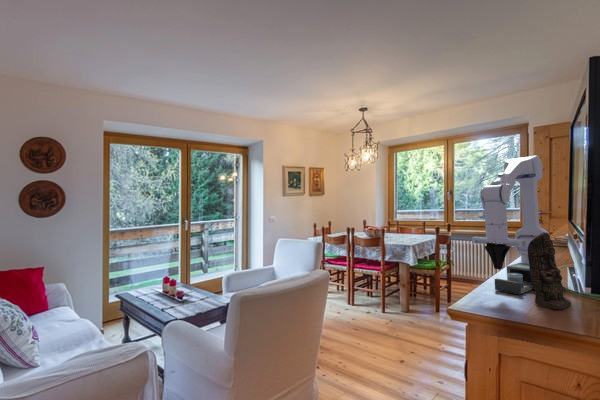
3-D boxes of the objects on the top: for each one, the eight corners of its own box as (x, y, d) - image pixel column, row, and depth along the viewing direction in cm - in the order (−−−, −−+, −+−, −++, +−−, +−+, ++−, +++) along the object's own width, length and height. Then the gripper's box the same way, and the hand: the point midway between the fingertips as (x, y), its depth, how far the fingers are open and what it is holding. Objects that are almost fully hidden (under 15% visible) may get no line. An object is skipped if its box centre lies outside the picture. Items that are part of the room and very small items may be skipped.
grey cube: (511, 284, 104) (511, 272, 104) (525, 287, 100) (525, 274, 100) (505, 286, 102) (504, 274, 102) (519, 289, 98) (518, 276, 98)
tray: (512, 284, 107) (511, 273, 107) (536, 288, 101) (535, 277, 101) (495, 289, 101) (494, 278, 101) (519, 294, 95) (518, 283, 95)
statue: (559, 311, 81) (555, 233, 82) (529, 304, 88) (525, 232, 88) (572, 306, 84) (568, 231, 85) (542, 299, 91) (538, 230, 91)
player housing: (520, 280, 112) (519, 262, 112) (551, 285, 104) (550, 266, 104) (507, 285, 107) (506, 265, 107) (538, 290, 99) (537, 270, 99)
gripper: (465, 224, 100) (467, 266, 100) (515, 226, 88) (517, 274, 88) (478, 222, 104) (480, 263, 104) (527, 224, 92) (530, 271, 91)
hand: (498, 268), depth 96 cm, fingers closed
